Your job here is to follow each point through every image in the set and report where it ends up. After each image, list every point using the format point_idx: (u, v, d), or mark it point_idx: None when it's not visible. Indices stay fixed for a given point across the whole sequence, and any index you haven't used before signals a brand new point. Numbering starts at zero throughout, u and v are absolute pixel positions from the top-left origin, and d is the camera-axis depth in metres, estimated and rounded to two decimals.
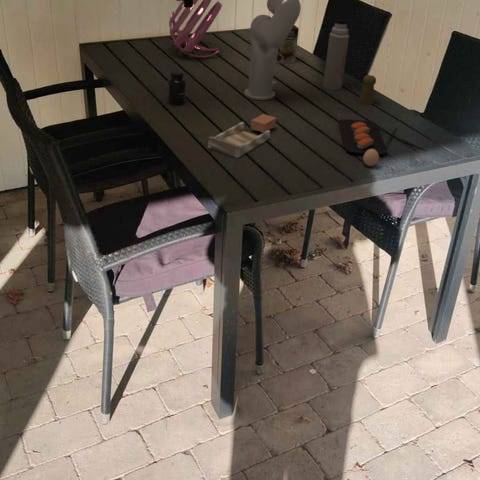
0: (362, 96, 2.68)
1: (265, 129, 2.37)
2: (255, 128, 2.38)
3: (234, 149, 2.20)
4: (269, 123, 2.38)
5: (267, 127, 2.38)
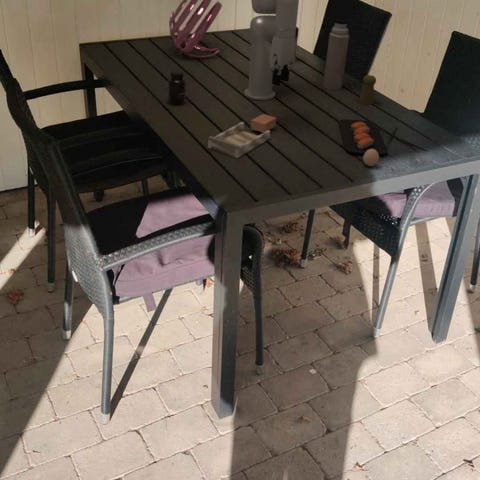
0: (362, 96, 2.68)
1: (265, 129, 2.37)
2: (255, 128, 2.38)
3: (234, 149, 2.20)
4: (269, 123, 2.38)
5: (267, 127, 2.38)
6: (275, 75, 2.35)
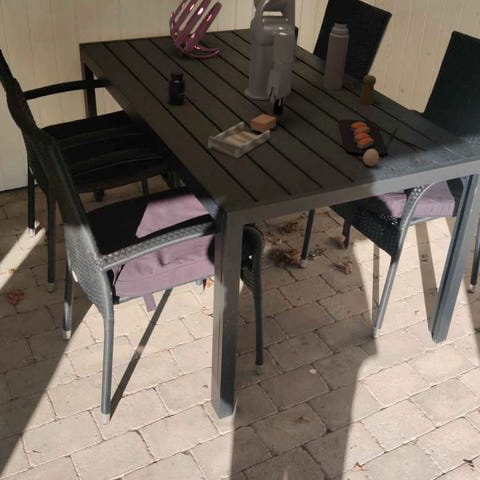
0: (362, 96, 2.68)
1: (265, 129, 2.37)
2: (255, 128, 2.38)
3: (234, 149, 2.20)
4: (269, 123, 2.38)
5: (267, 127, 2.38)
6: (276, 106, 2.43)
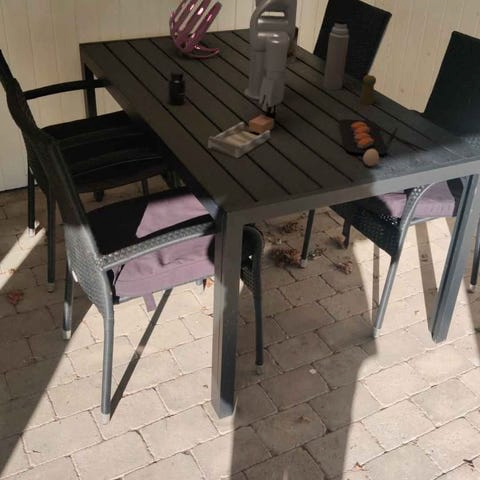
0: (362, 96, 2.68)
1: (263, 130, 2.36)
2: (253, 129, 2.37)
3: (234, 149, 2.20)
4: (267, 124, 2.37)
5: (265, 128, 2.37)
6: (269, 113, 2.41)
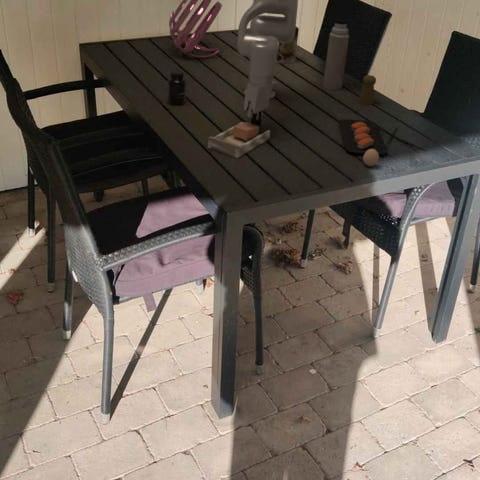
0: (362, 96, 2.68)
1: (247, 136, 2.28)
2: (237, 135, 2.29)
3: (234, 149, 2.20)
4: (252, 131, 2.30)
5: (249, 134, 2.29)
6: (254, 120, 2.34)
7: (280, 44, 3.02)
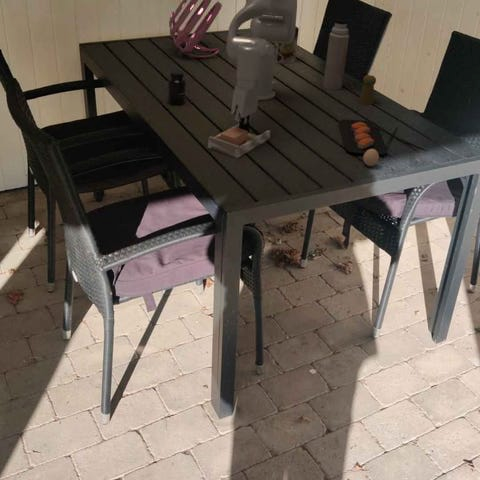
0: (362, 96, 2.68)
1: (235, 143, 2.23)
2: None
3: (234, 149, 2.20)
4: (240, 137, 2.24)
5: (237, 141, 2.24)
6: (242, 124, 2.28)
7: (280, 44, 3.02)
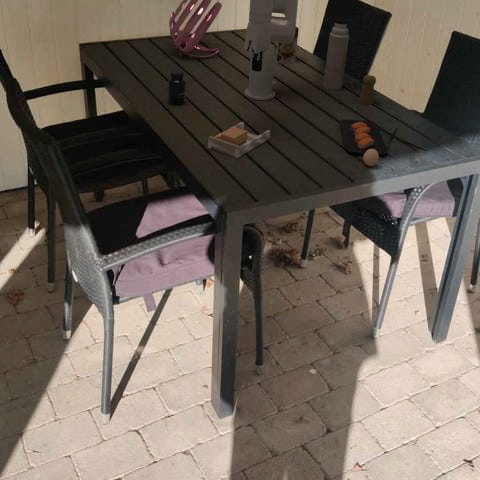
0: (362, 96, 2.68)
1: (235, 143, 2.23)
2: None
3: (234, 149, 2.20)
4: (240, 137, 2.24)
5: (237, 141, 2.23)
6: (255, 61, 2.28)
7: (280, 44, 3.02)
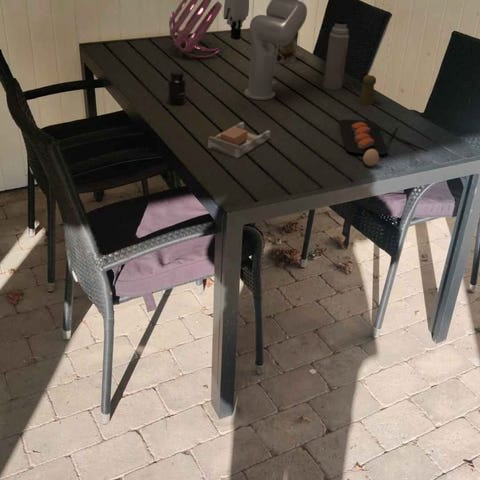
0: (362, 96, 2.68)
1: (235, 143, 2.23)
2: None
3: (234, 149, 2.20)
4: (240, 137, 2.24)
5: (237, 141, 2.23)
6: (233, 29, 2.39)
7: None
